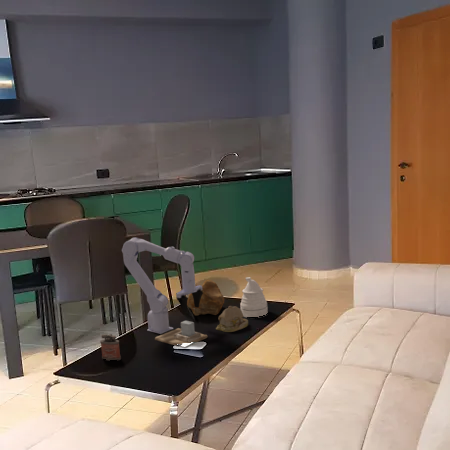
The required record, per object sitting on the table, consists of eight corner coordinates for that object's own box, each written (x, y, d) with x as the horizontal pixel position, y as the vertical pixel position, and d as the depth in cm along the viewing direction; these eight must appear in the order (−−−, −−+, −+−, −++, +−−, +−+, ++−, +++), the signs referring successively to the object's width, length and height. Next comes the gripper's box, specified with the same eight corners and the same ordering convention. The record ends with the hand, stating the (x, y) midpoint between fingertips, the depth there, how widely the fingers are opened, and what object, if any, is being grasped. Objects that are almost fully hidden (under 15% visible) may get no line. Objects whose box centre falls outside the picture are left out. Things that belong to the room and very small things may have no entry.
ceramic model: (226, 334, 241) (224, 312, 240) (212, 328, 251) (210, 306, 249) (252, 326, 249) (250, 304, 248) (237, 320, 258) (236, 300, 257)
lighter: (122, 357, 222) (120, 333, 221) (118, 361, 219) (115, 336, 218) (104, 356, 225) (102, 332, 223) (100, 359, 222) (97, 335, 220)
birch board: (155, 339, 240) (154, 333, 240) (178, 330, 251) (177, 323, 250) (184, 347, 228) (183, 340, 228) (207, 337, 239) (207, 330, 238)
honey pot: (248, 319, 259) (245, 282, 256) (236, 312, 270) (234, 276, 268) (272, 314, 264) (270, 277, 261) (260, 308, 275) (257, 272, 273)
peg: (190, 340, 234) (188, 324, 233) (181, 338, 237) (180, 322, 236) (195, 338, 236) (193, 322, 235) (186, 336, 239) (185, 320, 238)
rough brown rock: (213, 322, 261) (213, 291, 258) (182, 317, 268) (182, 286, 265) (234, 309, 281) (234, 280, 279) (204, 304, 288) (205, 276, 286)
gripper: (183, 284, 239) (185, 315, 241) (206, 277, 250) (208, 306, 252) (171, 282, 244) (174, 312, 246) (195, 275, 254) (197, 304, 256)
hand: (190, 309), depth 249 cm, fingers open, 7 cm apart
